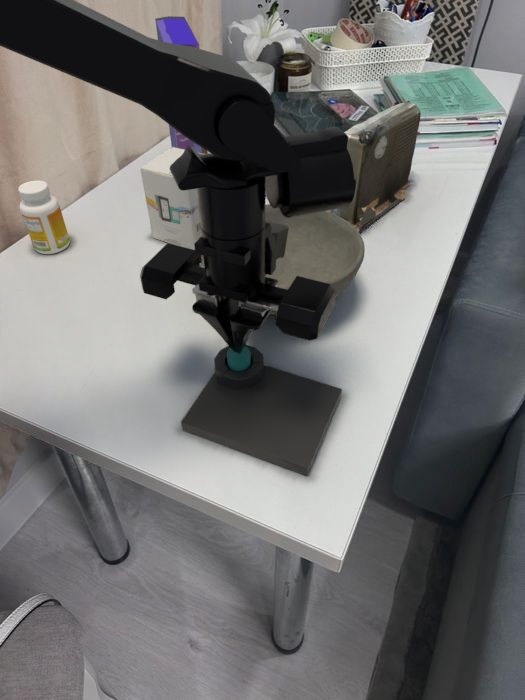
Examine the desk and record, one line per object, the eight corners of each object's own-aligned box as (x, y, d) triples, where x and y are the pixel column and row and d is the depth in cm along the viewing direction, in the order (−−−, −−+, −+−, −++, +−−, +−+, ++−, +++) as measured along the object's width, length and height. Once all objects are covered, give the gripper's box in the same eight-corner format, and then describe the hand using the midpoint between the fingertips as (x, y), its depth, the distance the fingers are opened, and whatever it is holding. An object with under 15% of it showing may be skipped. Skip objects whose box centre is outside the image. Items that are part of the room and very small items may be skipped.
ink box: (182, 213, 86) (173, 144, 78) (225, 226, 83) (221, 155, 75) (150, 238, 81) (138, 166, 73) (196, 252, 78) (188, 179, 70)
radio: (389, 171, 97) (405, 86, 87) (430, 185, 93) (451, 98, 82) (312, 218, 85) (319, 126, 75) (355, 237, 81) (369, 142, 70)
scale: (180, 429, 54) (176, 411, 52) (229, 356, 62) (227, 338, 60) (307, 476, 50) (309, 458, 48) (342, 392, 58) (345, 374, 56)
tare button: (223, 367, 57) (222, 357, 56) (233, 352, 59) (233, 342, 58) (244, 374, 56) (244, 364, 55) (254, 358, 58) (254, 349, 57)
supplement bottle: (66, 232, 82) (49, 174, 75) (73, 249, 78) (55, 190, 72) (31, 241, 80) (10, 182, 73) (37, 258, 77) (15, 198, 70)
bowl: (286, 368, 60) (288, 317, 55) (171, 294, 71) (163, 244, 65) (385, 287, 71) (396, 238, 66) (274, 233, 82) (275, 186, 76)
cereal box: (211, 198, 90) (199, 43, 73) (184, 201, 89) (165, 45, 72) (197, 156, 102) (184, 15, 85) (173, 159, 101) (155, 16, 84)
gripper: (361, 202, 48) (342, 327, 59) (185, 167, 53) (198, 287, 64) (322, 266, 40) (310, 395, 51) (123, 218, 46) (150, 344, 57)
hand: (238, 350), depth 56 cm, fingers closed
